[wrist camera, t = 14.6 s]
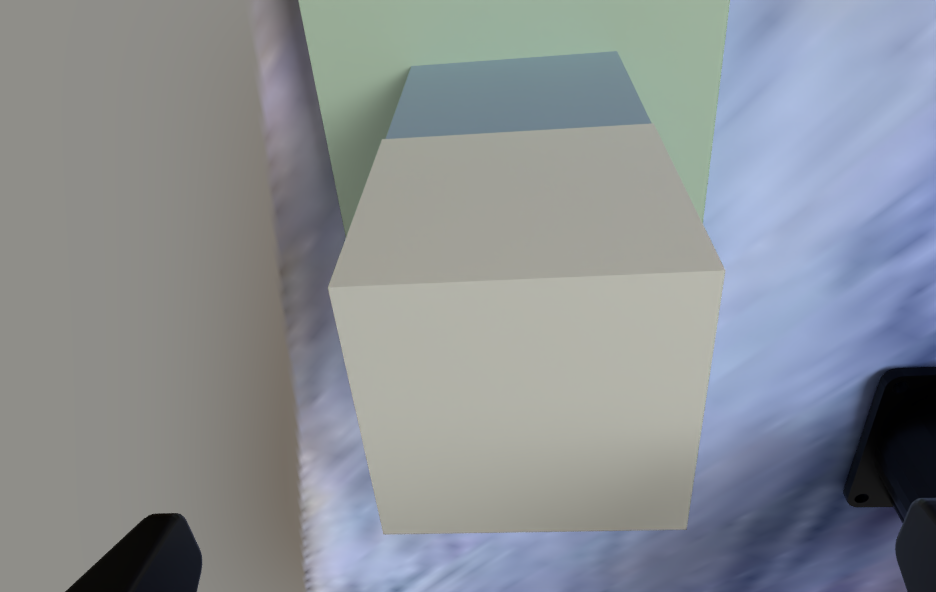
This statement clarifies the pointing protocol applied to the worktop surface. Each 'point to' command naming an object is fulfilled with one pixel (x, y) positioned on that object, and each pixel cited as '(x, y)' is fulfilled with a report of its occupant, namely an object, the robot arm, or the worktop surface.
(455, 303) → the cream block
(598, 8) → the green block
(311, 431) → the worktop surface
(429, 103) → the blue block
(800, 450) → the worktop surface
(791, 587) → the worktop surface
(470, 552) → the worktop surface
